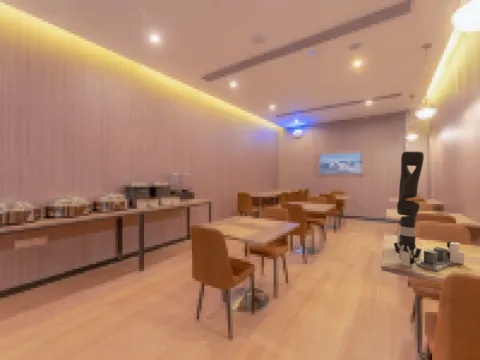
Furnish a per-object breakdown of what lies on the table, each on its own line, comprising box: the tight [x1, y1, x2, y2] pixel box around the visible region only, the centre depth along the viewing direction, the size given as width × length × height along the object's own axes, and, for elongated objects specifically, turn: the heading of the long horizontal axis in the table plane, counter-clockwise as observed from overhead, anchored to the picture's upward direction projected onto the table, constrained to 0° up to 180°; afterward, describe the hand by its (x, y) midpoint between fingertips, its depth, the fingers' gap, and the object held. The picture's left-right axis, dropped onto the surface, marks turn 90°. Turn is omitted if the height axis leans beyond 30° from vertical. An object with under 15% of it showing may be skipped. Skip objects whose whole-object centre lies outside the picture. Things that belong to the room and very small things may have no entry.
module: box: [399, 250, 414, 268], centre depth 133 cm, size 4×5×8 cm
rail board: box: [415, 246, 455, 272], centre depth 133 cm, size 10×22×9 cm, turn 118°
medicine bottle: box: [445, 240, 465, 265], centre depth 138 cm, size 7×7×12 cm
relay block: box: [414, 250, 422, 263], centre depth 139 cm, size 4×4×6 cm
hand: (406, 262), depth 133 cm, fingers closed on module, 4 cm apart
